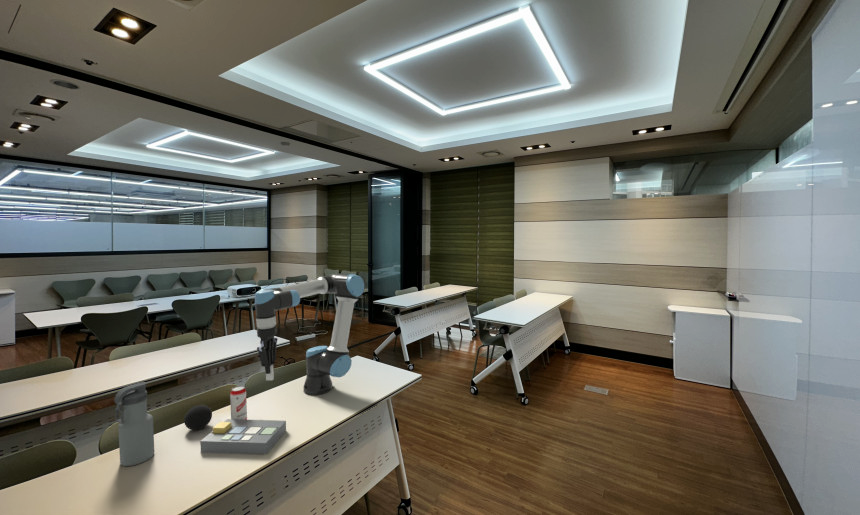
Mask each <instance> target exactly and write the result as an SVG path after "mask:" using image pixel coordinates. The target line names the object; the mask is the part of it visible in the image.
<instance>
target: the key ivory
mask: <svg viewBox="0 0 860 515" xmlns="http://www.w3.org/2000/svg"><path fill="white" fill-rule="evenodd" d="M261 429H262V427H250V428H249V429H248V430H247V431H246V432H245V433H244V434H252V435H256V434H257V433H258V432H259V431H260V430H261Z"/></svg>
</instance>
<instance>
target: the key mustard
mask: <svg viewBox="0 0 860 515" xmlns="http://www.w3.org/2000/svg"><path fill="white" fill-rule="evenodd" d="M230 428H231V422H224V421H220V422H218V423H216V425H215V426H213V427H212V431H213V433H217V434H225V433H226V432H227V431H228V430H229V429H230Z"/></svg>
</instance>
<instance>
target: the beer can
mask: <svg viewBox="0 0 860 515" xmlns="http://www.w3.org/2000/svg"><path fill="white" fill-rule="evenodd" d="M229 397H230V398H229V400H230V419H241V420H248V409H247V408H248V405H247V404H248V403H247V390H246V388H245V385H237V386H234V387H232V388H231V391H230V393H229Z"/></svg>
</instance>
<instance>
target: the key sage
mask: <svg viewBox="0 0 860 515" xmlns="http://www.w3.org/2000/svg"><path fill="white" fill-rule="evenodd" d="M276 430H277V428H268V427H266V428H265V429H264V430H263V431H262V432H261V433H260V435H272V434H273V433H274V432H275V431H276Z"/></svg>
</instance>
